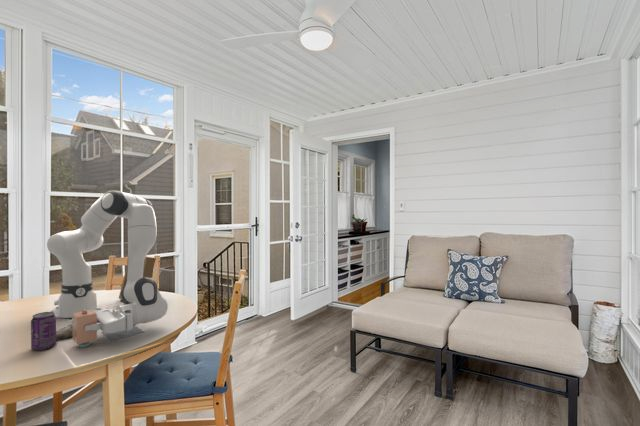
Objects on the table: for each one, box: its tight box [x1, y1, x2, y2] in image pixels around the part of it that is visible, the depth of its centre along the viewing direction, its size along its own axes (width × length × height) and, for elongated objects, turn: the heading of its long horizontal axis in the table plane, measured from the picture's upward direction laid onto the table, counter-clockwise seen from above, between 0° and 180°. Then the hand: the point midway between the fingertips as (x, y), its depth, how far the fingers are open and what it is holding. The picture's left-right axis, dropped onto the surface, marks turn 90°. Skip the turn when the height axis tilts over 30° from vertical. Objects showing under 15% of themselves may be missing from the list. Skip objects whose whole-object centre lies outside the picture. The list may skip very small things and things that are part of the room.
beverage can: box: [30, 311, 57, 351], centre depth 124 cm, size 7×7×12 cm
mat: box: [101, 325, 145, 342], centre depth 138 cm, size 12×12×1 cm
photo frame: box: [118, 255, 157, 301], centre depth 182 cm, size 15×22×25 cm
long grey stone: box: [56, 324, 73, 341], centre depth 144 cm, size 35×5×10 cm
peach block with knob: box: [71, 309, 98, 345], centre depth 124 cm, size 6×6×11 cm
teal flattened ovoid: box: [77, 341, 92, 348], centre depth 124 cm, size 4×4×2 cm
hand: (81, 325), depth 124 cm, fingers closed on peach block with knob, 6 cm apart
